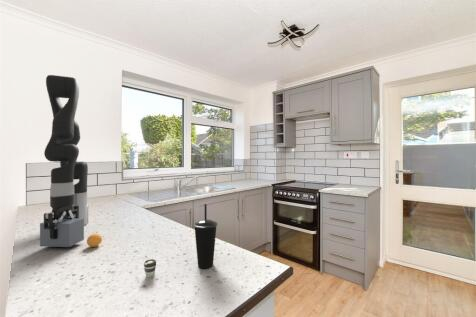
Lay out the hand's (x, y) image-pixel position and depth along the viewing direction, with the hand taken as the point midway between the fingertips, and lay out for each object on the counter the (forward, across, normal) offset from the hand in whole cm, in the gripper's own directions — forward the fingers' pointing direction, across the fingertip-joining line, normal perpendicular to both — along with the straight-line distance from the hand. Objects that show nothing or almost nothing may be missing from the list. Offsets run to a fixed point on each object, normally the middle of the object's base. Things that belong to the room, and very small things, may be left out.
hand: (62, 235), depth 87 cm
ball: (+2, 0, +13) cm, 13 cm away
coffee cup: (+5, +20, +44) cm, 49 cm away
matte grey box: (+3, 0, 0) cm, 3 cm away
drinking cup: (+5, +13, +60) cm, 61 cm away
